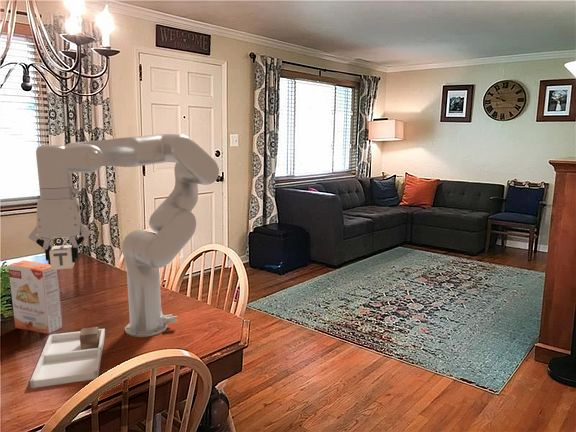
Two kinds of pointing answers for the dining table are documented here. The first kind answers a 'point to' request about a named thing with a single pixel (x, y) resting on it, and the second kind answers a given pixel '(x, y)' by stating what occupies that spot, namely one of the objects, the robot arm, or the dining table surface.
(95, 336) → the walnut block
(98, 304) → the dining table surface
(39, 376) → the organizer
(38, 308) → the cracker box
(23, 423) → the dining table surface
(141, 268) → the robot arm
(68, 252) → the letter cube
